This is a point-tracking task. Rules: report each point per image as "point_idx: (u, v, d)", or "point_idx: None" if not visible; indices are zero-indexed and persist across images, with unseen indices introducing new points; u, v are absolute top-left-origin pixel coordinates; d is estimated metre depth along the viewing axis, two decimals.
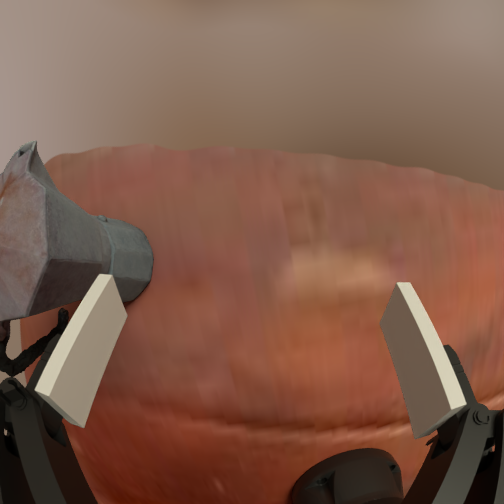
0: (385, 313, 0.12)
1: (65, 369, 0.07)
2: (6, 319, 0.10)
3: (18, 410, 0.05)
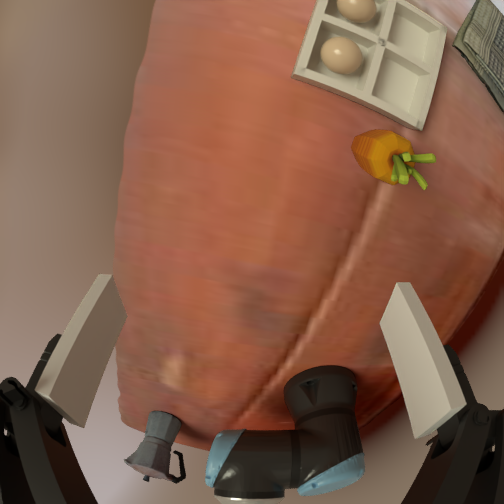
0: (385, 313, 0.12)
1: (65, 369, 0.07)
2: (166, 476, 0.46)
3: (18, 410, 0.05)
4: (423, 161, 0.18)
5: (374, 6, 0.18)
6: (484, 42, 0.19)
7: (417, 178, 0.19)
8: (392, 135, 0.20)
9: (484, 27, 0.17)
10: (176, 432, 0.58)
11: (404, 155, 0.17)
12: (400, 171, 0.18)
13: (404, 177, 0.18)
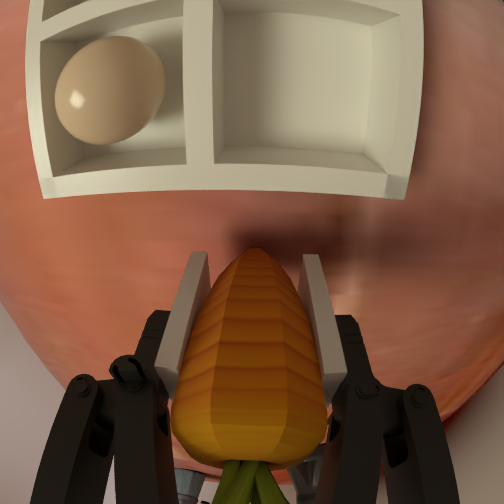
0: (298, 285, 0.14)
1: (184, 340, 0.09)
2: None
3: (129, 391, 0.07)
4: None
5: None
6: None
7: None
8: (206, 429, 0.06)
9: None
10: (200, 484, 0.53)
11: None
12: None
13: None
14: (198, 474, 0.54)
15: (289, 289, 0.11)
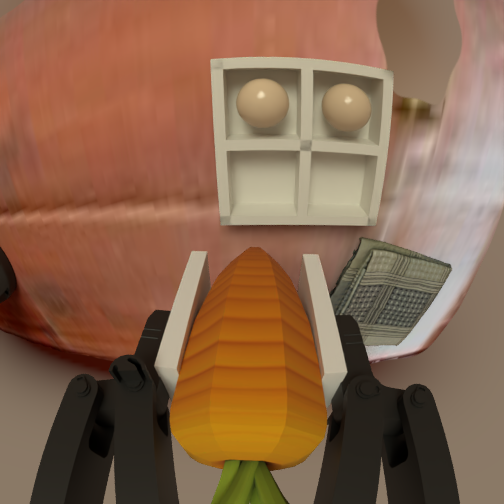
0: (298, 285, 0.14)
1: (184, 340, 0.09)
2: None
3: (129, 391, 0.07)
4: None
5: (352, 126, 0.21)
6: (387, 276, 0.34)
7: None
8: (205, 429, 0.06)
9: (407, 273, 0.33)
10: None
11: None
12: None
13: None
14: None
15: (289, 289, 0.11)
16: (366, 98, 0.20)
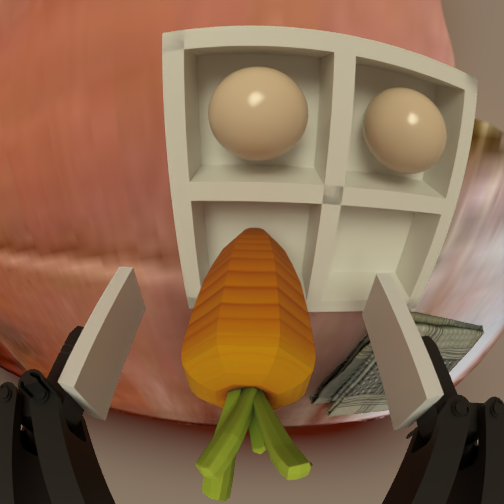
0: (367, 305, 0.13)
1: (89, 360, 0.08)
2: None
3: (39, 403, 0.06)
4: None
5: (417, 168, 0.11)
6: None
7: None
8: (212, 352, 0.08)
9: None
10: None
11: (199, 468, 0.06)
12: (205, 482, 0.06)
13: (213, 496, 0.06)
14: None
15: (283, 256, 0.13)
16: (443, 119, 0.10)
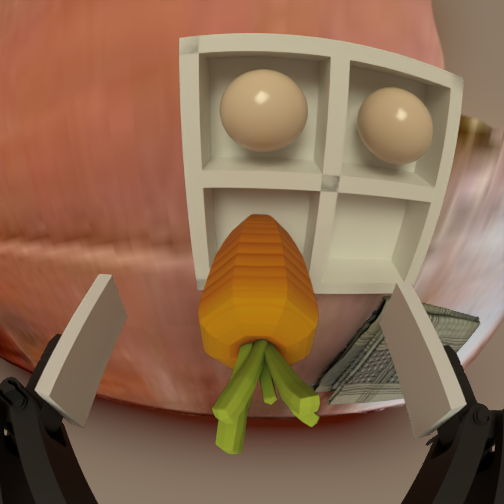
0: (385, 313, 0.12)
1: (65, 369, 0.07)
2: None
3: (18, 410, 0.05)
4: None
5: (406, 159, 0.13)
6: None
7: (291, 410, 0.08)
8: (228, 305, 0.09)
9: None
10: None
11: (216, 412, 0.07)
12: (219, 434, 0.08)
13: (226, 449, 0.07)
14: None
15: (287, 235, 0.15)
16: (429, 115, 0.11)
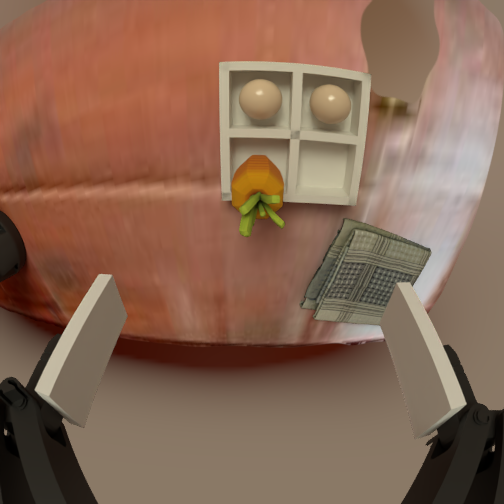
0: (385, 313, 0.12)
1: (65, 369, 0.07)
2: None
3: (18, 410, 0.05)
4: (268, 203, 0.21)
5: (334, 119, 0.26)
6: (369, 255, 0.39)
7: None
8: (245, 176, 0.23)
9: (387, 253, 0.38)
10: None
11: (240, 209, 0.21)
12: (241, 225, 0.21)
13: (244, 232, 0.21)
14: None
15: (272, 162, 0.28)
16: (346, 96, 0.24)
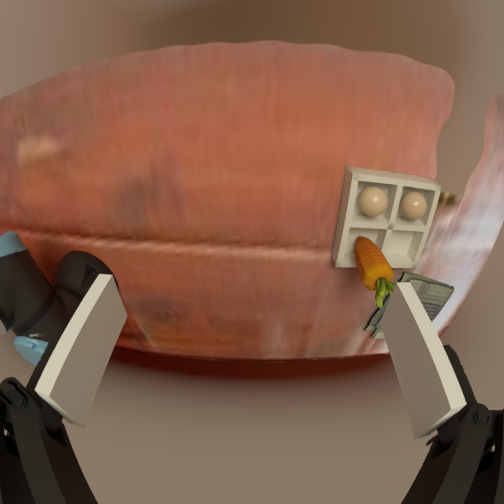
0: (385, 313, 0.12)
1: (65, 369, 0.07)
2: None
3: (18, 410, 0.05)
4: (393, 289, 0.33)
5: (416, 219, 0.38)
6: None
7: None
8: (376, 269, 0.35)
9: (427, 293, 0.50)
10: None
11: (380, 293, 0.33)
12: (378, 301, 0.34)
13: (380, 305, 0.33)
14: None
15: None
16: (426, 203, 0.37)
